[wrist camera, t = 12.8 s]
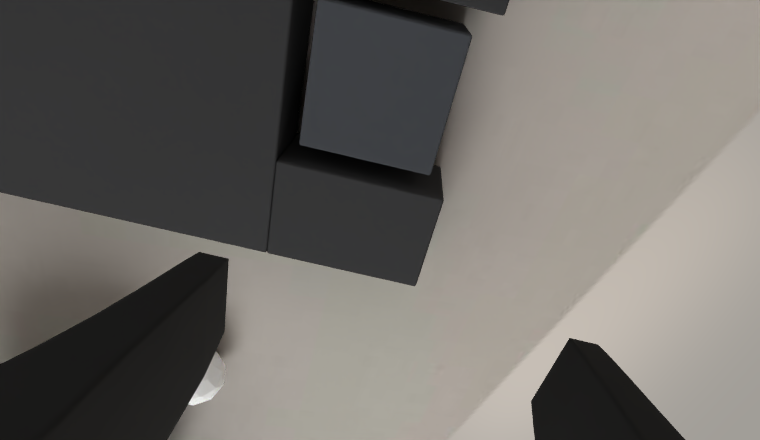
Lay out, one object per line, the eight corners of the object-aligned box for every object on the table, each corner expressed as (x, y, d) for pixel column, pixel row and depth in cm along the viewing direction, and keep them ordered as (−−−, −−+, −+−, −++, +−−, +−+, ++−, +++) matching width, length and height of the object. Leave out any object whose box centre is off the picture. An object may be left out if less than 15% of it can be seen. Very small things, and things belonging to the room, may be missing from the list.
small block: (464, 23, 15) (473, 35, 13) (429, 145, 18) (430, 176, 15) (335, -9, 15) (317, -4, 13) (316, 119, 18) (298, 145, 15)
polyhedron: (229, 378, 26) (207, 424, 23) (178, 361, 25) (150, 406, 23) (239, 345, 24) (217, 391, 22) (186, 327, 24) (157, 371, 21)
